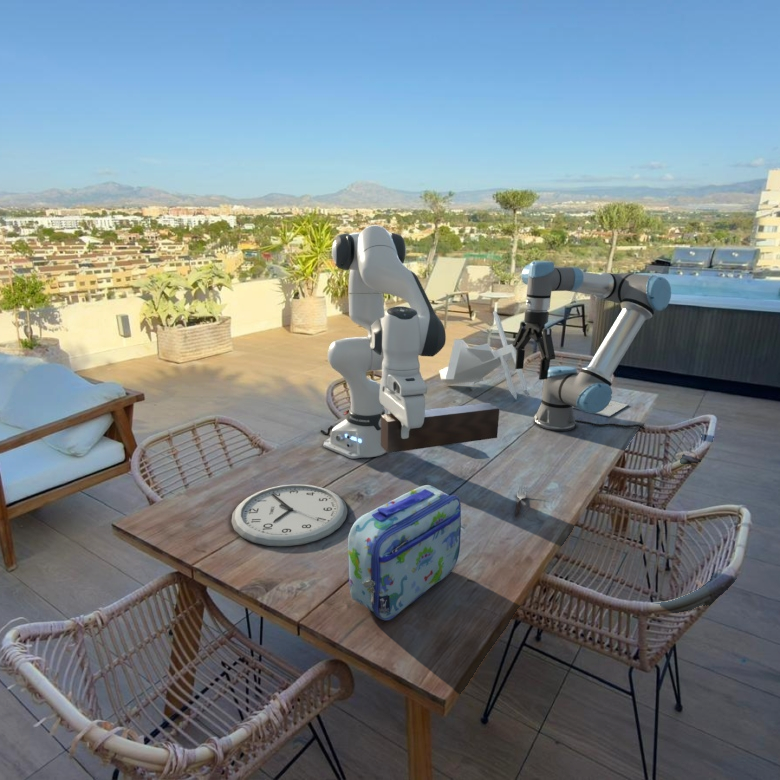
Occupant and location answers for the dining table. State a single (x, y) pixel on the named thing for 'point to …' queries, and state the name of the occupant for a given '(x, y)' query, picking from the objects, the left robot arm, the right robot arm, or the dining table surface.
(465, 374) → the white plastic object
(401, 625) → the dining table surface
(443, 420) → the plank
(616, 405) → the invitation card
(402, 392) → the left robot arm
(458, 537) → the lunch box
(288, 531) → the wall clock
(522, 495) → the fork
